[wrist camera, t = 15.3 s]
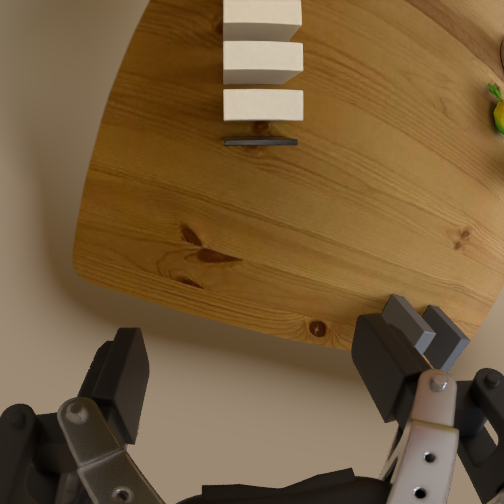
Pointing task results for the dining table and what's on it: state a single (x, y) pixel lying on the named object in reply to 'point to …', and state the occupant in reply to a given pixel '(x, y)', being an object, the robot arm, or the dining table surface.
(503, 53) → the candle holder
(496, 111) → the apple
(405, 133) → the dining table surface
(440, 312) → the grey books
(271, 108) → the cream book
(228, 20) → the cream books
